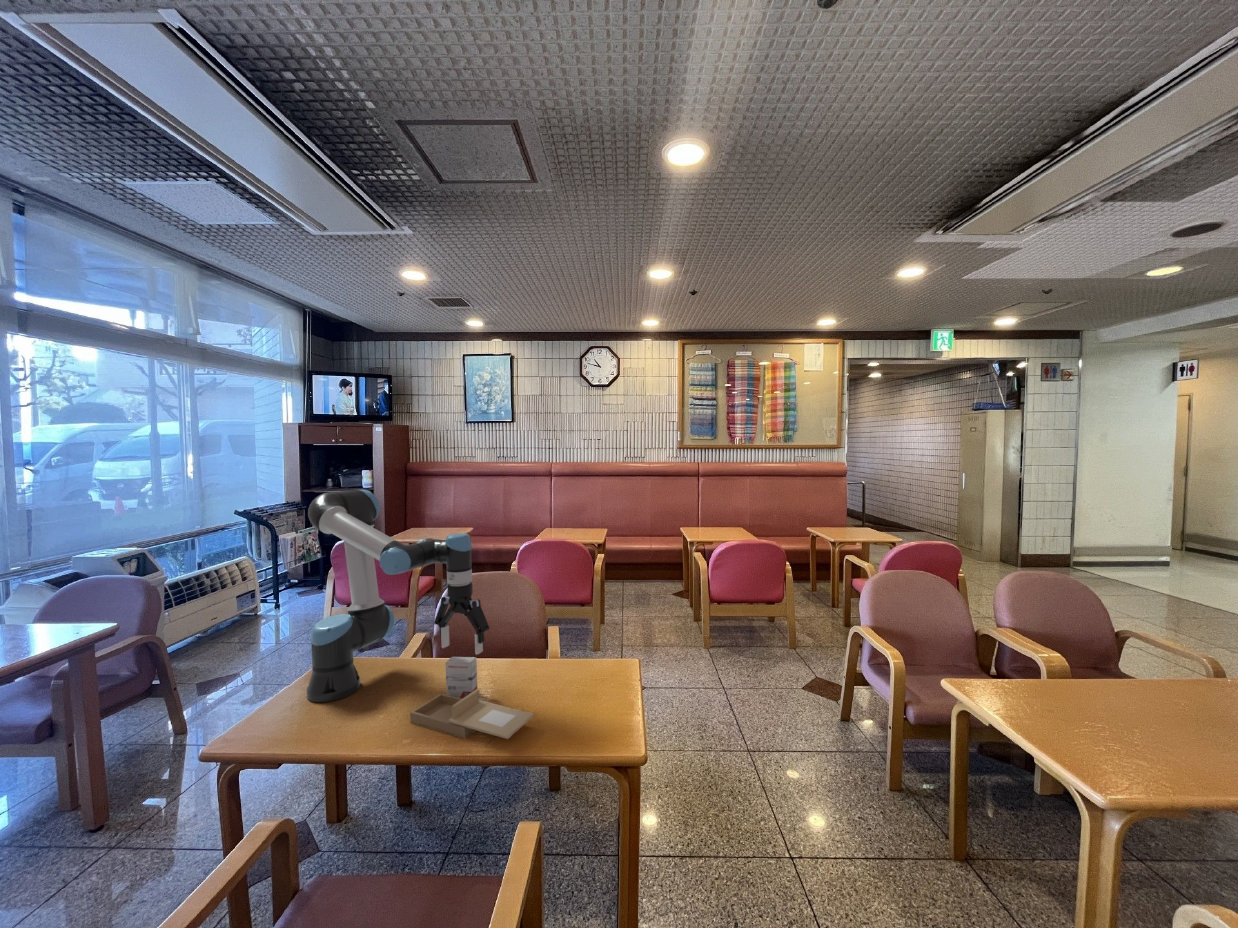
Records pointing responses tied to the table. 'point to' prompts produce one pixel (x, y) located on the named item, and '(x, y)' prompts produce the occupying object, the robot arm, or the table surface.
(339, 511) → the robot arm
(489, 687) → the table surface
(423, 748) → the table surface
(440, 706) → the mailer
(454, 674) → the ink box
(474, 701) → the lid
